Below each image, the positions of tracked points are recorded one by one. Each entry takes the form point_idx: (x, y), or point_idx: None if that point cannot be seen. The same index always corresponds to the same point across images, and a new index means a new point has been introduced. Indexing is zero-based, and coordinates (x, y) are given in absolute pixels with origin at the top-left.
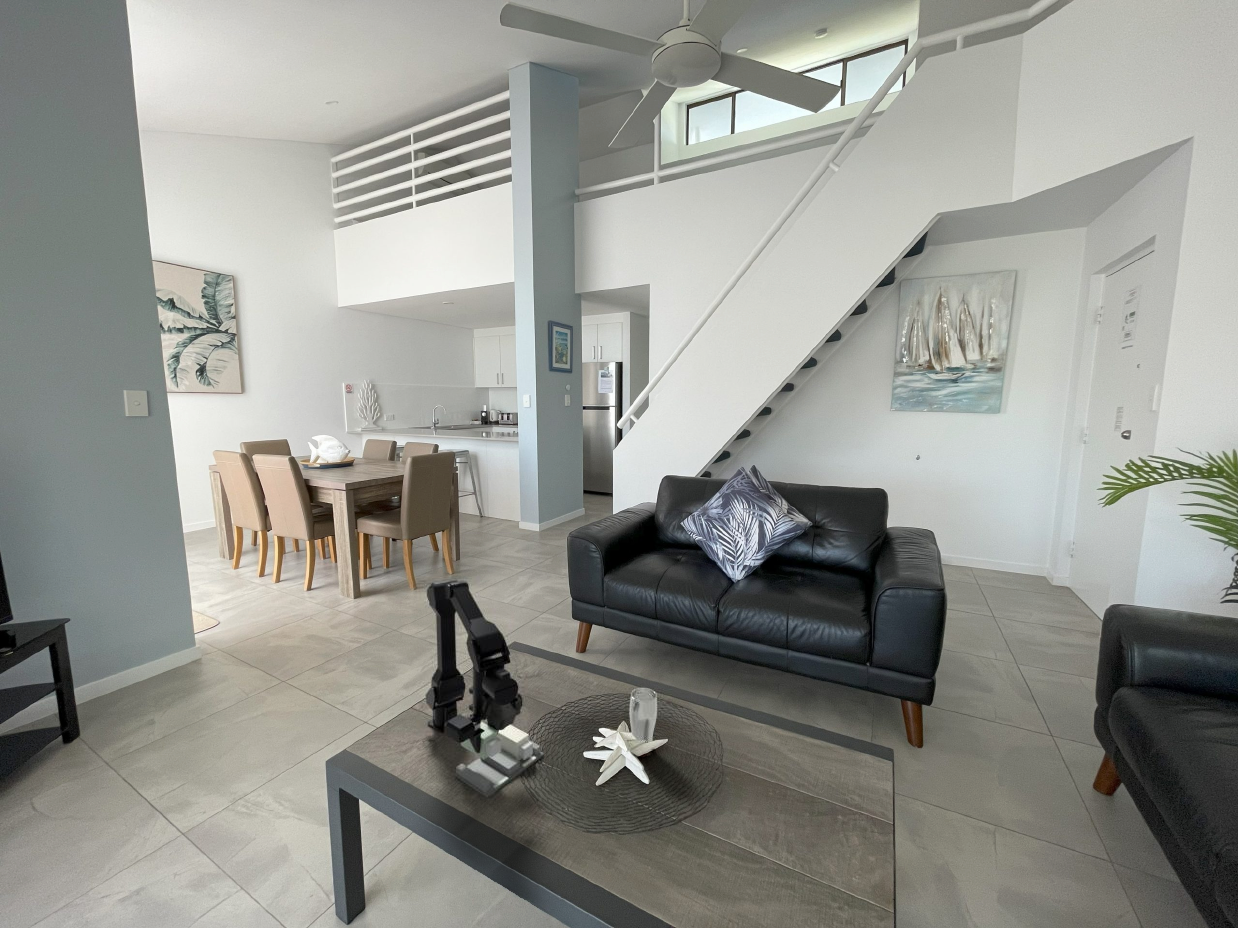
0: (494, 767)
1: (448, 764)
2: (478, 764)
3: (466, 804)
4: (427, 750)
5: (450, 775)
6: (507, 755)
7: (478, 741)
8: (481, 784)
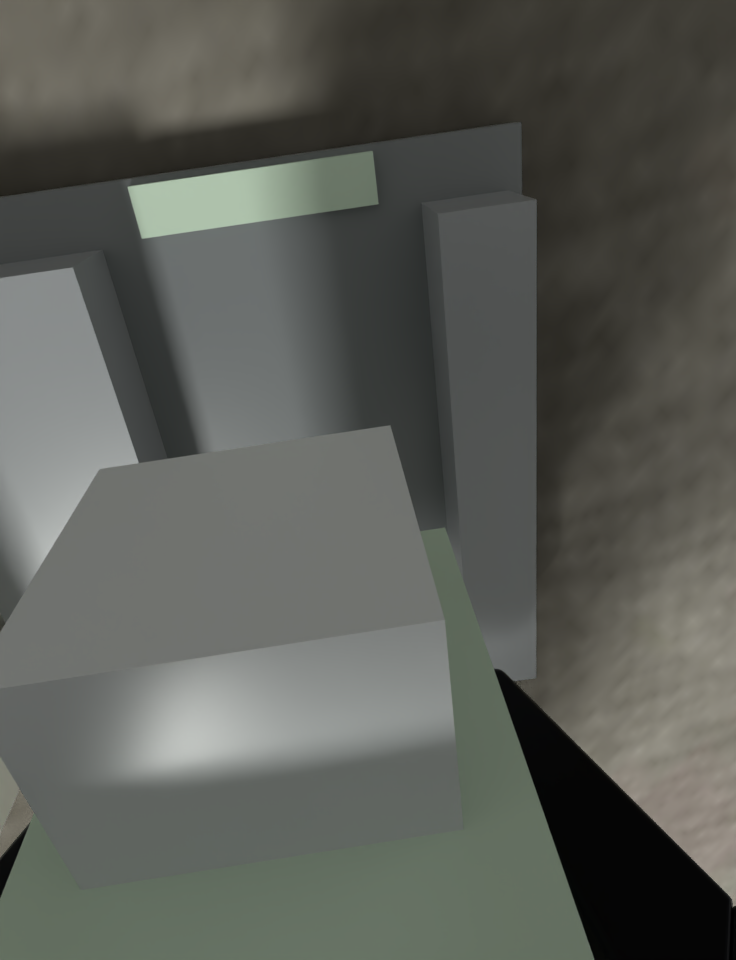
0: None
1: None
2: None
3: (720, 210)
4: None
5: (539, 639)
6: None
7: (708, 951)
8: (533, 273)
